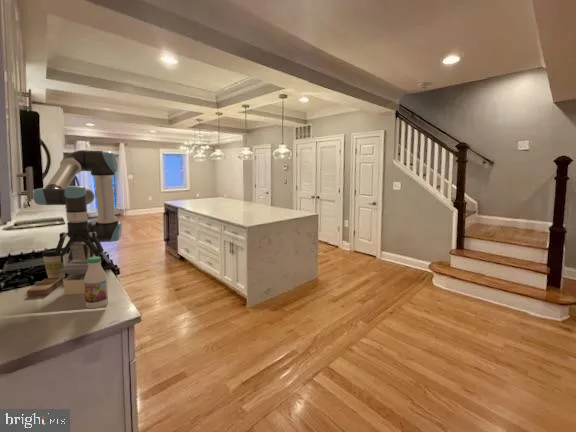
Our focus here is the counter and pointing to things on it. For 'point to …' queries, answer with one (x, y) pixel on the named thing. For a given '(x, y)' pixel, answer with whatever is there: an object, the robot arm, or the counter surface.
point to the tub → (74, 284)
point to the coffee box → (80, 251)
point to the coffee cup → (53, 263)
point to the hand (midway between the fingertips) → (81, 268)
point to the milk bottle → (95, 284)
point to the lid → (75, 267)
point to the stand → (45, 287)
